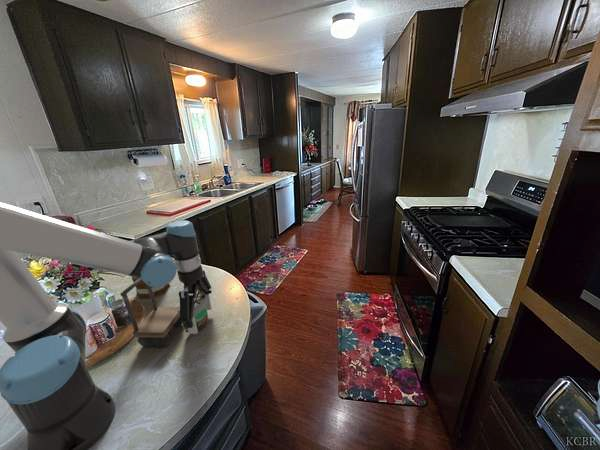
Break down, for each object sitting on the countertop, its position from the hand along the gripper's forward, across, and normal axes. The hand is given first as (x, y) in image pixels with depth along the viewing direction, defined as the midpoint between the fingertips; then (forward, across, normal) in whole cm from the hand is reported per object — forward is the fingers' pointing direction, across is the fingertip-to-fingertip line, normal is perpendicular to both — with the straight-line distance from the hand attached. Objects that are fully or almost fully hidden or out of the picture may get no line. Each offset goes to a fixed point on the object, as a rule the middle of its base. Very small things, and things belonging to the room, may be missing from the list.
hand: (201, 320), depth 87 cm
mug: (+3, +25, +34) cm, 42 cm away
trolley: (+3, -4, +12) cm, 13 cm away
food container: (+1, 0, 0) cm, 1 cm away
